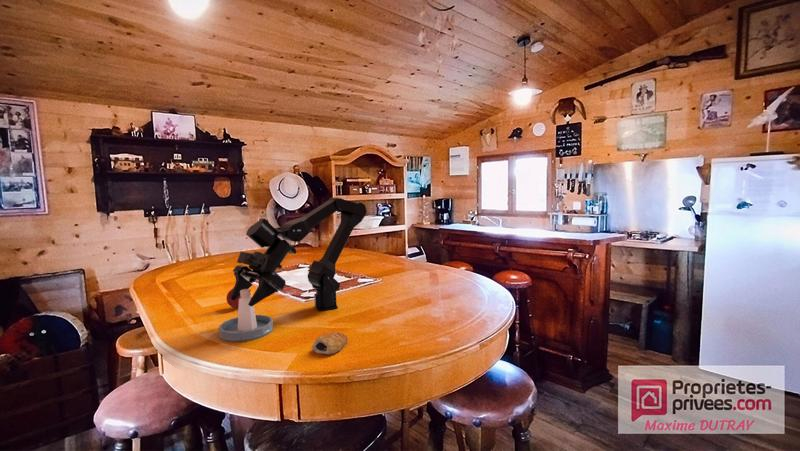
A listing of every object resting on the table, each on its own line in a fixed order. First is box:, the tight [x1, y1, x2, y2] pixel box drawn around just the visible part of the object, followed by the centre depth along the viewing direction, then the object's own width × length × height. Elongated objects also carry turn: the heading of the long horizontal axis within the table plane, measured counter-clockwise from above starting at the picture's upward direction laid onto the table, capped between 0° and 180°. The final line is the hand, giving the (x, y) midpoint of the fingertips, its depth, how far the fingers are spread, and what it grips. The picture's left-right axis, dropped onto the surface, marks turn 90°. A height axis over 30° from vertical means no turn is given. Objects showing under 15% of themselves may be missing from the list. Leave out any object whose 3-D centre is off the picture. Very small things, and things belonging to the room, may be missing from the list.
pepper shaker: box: [237, 288, 257, 331], centre depth 105 cm, size 5×5×11 cm
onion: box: [225, 285, 241, 309], centre depth 126 cm, size 6×6×8 cm
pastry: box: [311, 332, 349, 355], centre depth 94 cm, size 9×7×4 cm
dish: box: [218, 314, 274, 343], centre depth 105 cm, size 14×14×2 cm
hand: (240, 302), depth 103 cm, fingers open, 9 cm apart
